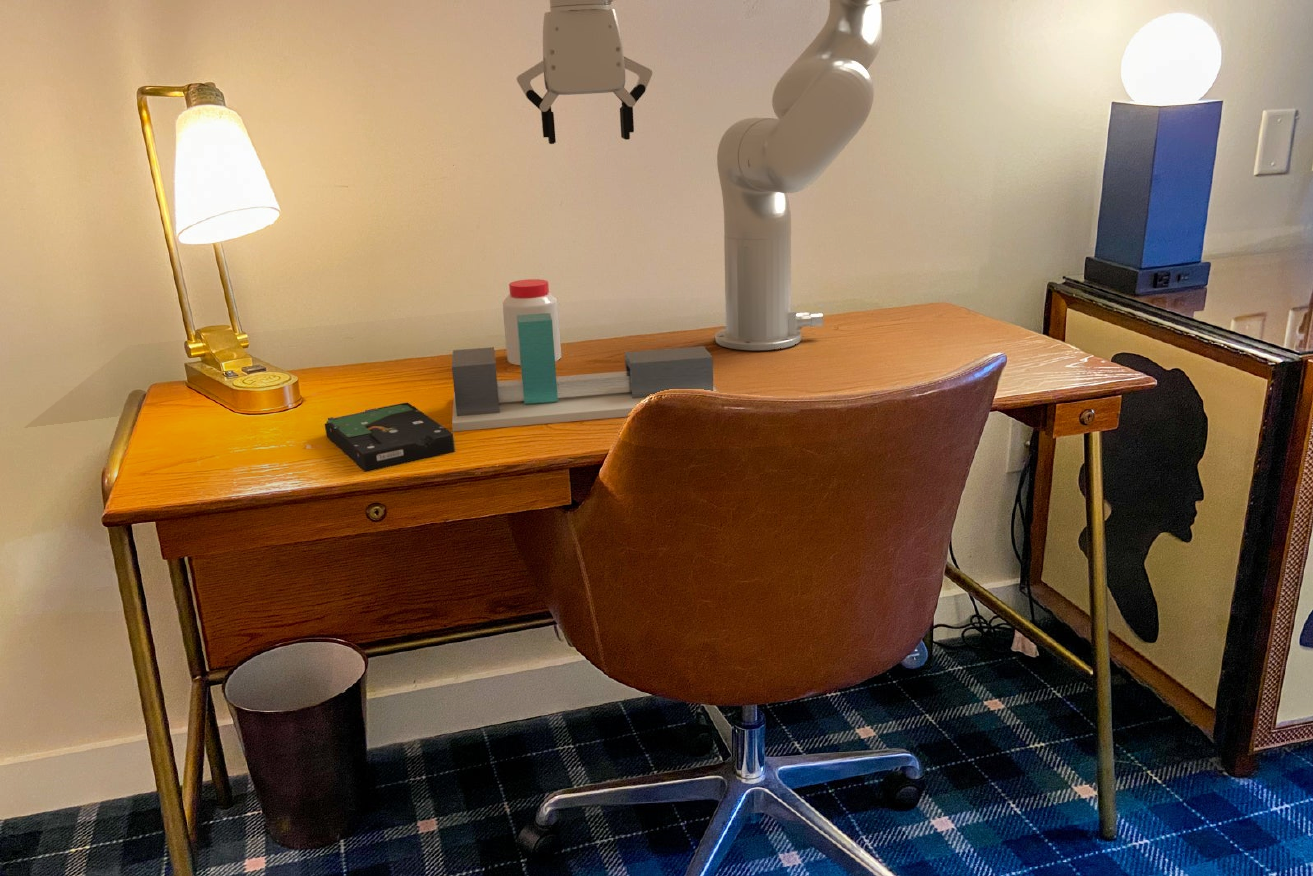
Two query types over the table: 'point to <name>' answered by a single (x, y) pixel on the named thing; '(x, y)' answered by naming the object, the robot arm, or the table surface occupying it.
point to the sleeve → (669, 370)
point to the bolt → (551, 369)
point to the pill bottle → (526, 301)
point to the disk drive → (389, 436)
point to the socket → (475, 381)
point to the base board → (550, 411)
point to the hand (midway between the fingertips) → (589, 140)
